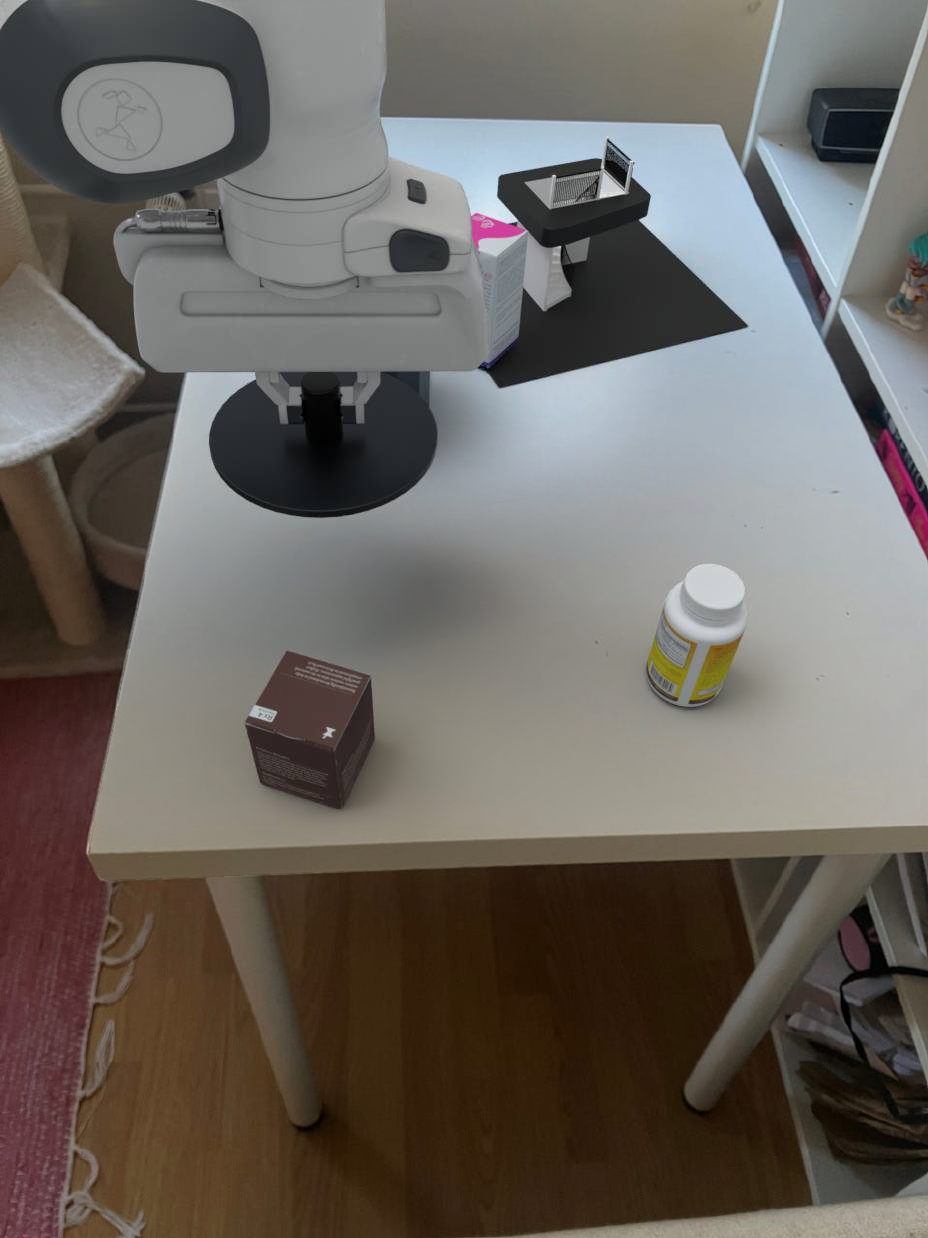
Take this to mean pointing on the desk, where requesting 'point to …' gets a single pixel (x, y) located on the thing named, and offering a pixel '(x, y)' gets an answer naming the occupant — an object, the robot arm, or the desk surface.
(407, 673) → the desk surface
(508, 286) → the supplement box
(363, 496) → the bin lid
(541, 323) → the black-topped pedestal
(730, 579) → the supplement bottle
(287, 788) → the box
